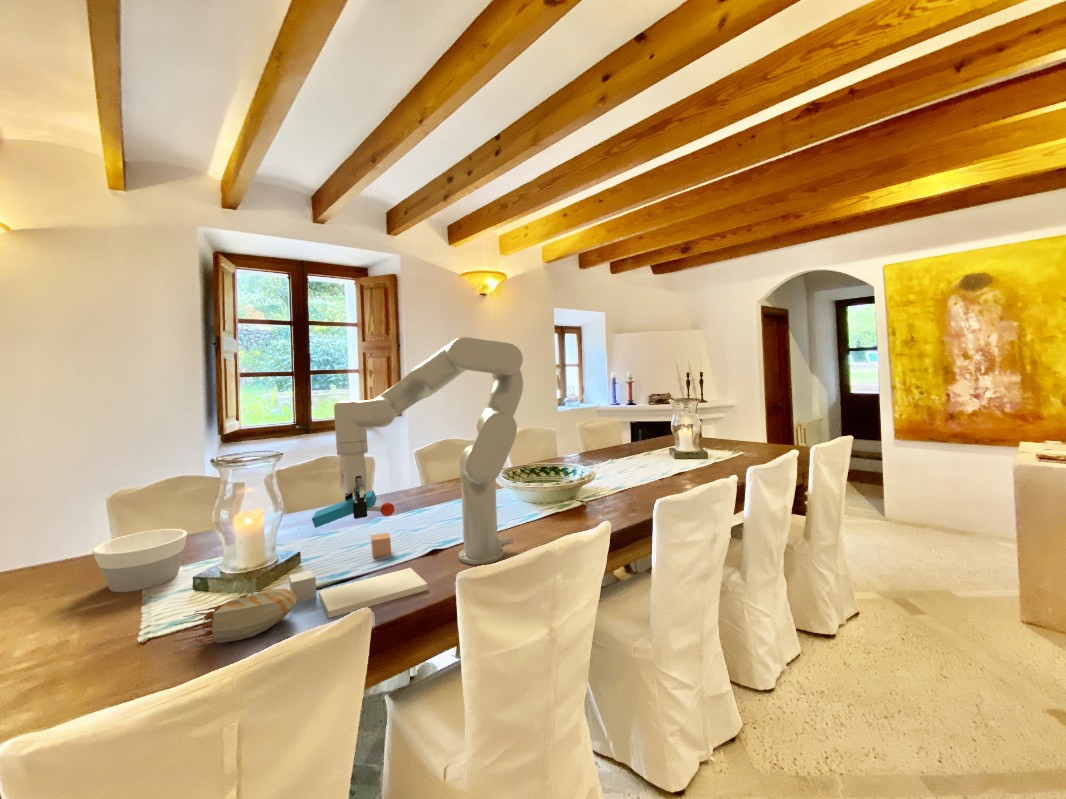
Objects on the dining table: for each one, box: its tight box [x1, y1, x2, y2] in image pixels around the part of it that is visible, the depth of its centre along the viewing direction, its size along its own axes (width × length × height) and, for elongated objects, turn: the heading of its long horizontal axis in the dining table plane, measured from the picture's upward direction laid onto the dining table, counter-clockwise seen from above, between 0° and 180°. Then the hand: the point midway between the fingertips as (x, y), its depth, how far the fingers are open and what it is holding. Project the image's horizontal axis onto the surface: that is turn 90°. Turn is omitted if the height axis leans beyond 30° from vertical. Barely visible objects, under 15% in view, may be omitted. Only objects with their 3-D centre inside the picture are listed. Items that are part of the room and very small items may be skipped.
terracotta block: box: [370, 532, 392, 558], centre depth 139 cm, size 5×5×5 cm
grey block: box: [288, 569, 317, 604], centre depth 112 cm, size 5×5×5 cm
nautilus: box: [173, 588, 297, 647], centre depth 97 cm, size 8×22×15 cm
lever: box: [311, 489, 395, 529], centre depth 124 cm, size 7×7×19 cm
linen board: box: [318, 567, 428, 619], centre depth 113 cm, size 22×12×2 cm, turn 123°
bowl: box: [92, 528, 188, 593], centre depth 125 cm, size 19×19×11 cm
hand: (356, 513), depth 124 cm, fingers closed on lever, 8 cm apart
